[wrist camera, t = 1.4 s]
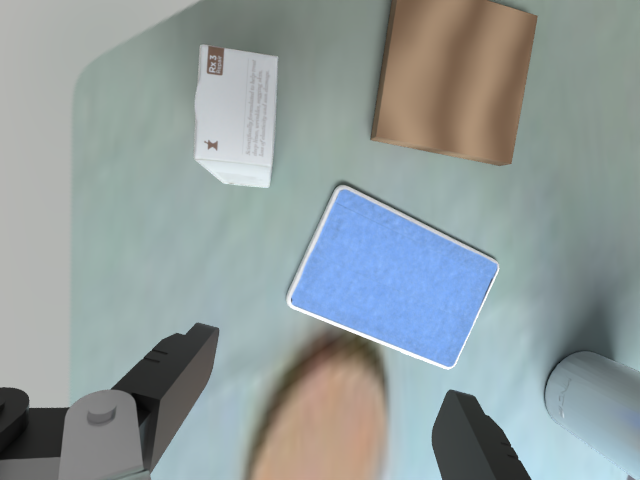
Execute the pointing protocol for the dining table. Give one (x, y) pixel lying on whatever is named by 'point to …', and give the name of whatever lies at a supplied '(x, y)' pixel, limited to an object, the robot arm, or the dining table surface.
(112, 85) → the dining table surface
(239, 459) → the dining table surface
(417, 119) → the walnut board
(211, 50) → the skincare box
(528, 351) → the dining table surface
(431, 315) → the tablet computer
